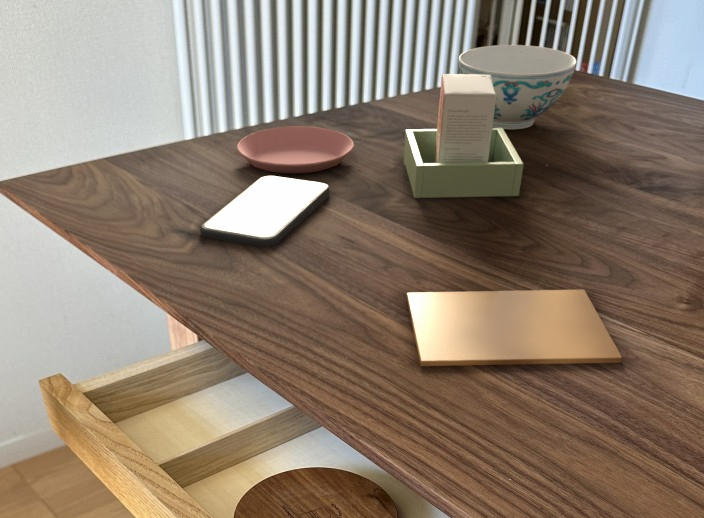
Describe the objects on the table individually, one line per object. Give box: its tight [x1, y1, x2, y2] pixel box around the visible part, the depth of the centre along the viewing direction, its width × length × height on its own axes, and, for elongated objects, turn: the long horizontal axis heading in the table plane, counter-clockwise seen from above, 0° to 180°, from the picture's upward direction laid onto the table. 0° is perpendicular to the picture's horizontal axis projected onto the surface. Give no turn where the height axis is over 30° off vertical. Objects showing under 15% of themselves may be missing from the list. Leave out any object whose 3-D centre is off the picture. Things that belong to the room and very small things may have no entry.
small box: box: [434, 73, 496, 163], centre depth 96 cm, size 8×6×10 cm
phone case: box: [200, 175, 331, 248], centre depth 91 cm, size 9×2×16 cm
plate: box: [236, 125, 355, 174], centre depth 105 cm, size 14×14×2 cm
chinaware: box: [458, 44, 578, 130], centre depth 113 cm, size 15×15×8 cm
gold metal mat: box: [405, 289, 623, 367], centre depth 72 cm, size 16×12×1 cm
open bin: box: [403, 127, 524, 199], centre depth 98 cm, size 12×13×4 cm
